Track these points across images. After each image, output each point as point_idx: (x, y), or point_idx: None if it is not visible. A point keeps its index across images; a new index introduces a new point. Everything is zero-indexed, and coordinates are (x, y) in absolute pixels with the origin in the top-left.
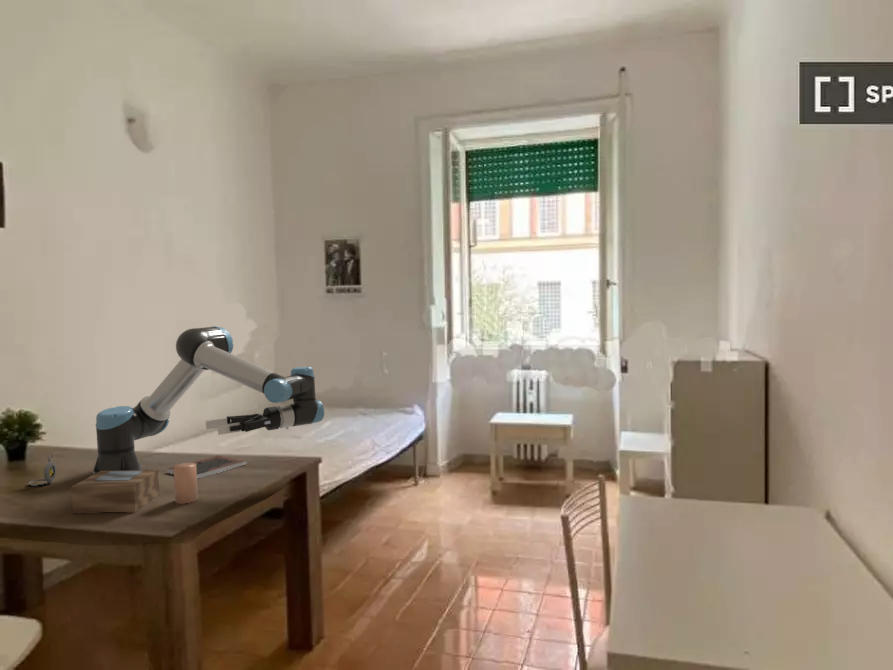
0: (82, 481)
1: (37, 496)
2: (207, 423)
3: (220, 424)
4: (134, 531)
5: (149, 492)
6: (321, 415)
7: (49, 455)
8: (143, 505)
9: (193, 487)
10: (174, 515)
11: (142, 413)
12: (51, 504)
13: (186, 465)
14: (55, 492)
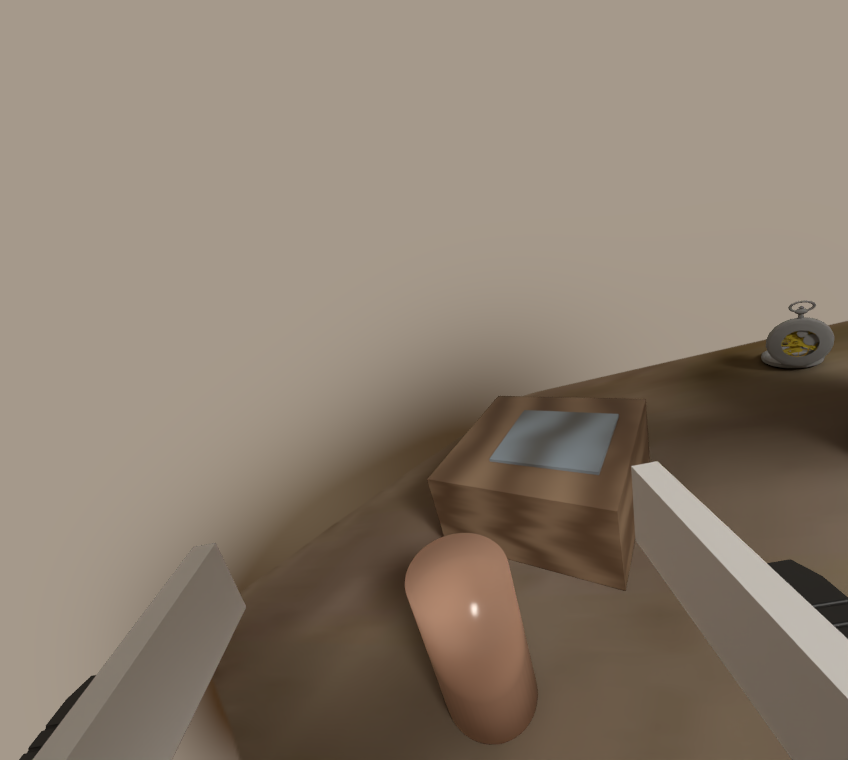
0: (536, 398)
1: (674, 383)
2: (637, 496)
3: (737, 652)
4: (300, 553)
5: (532, 542)
6: None
7: (796, 302)
8: None
9: (438, 677)
10: (340, 638)
11: None
12: None
13: (447, 577)
14: (706, 394)
